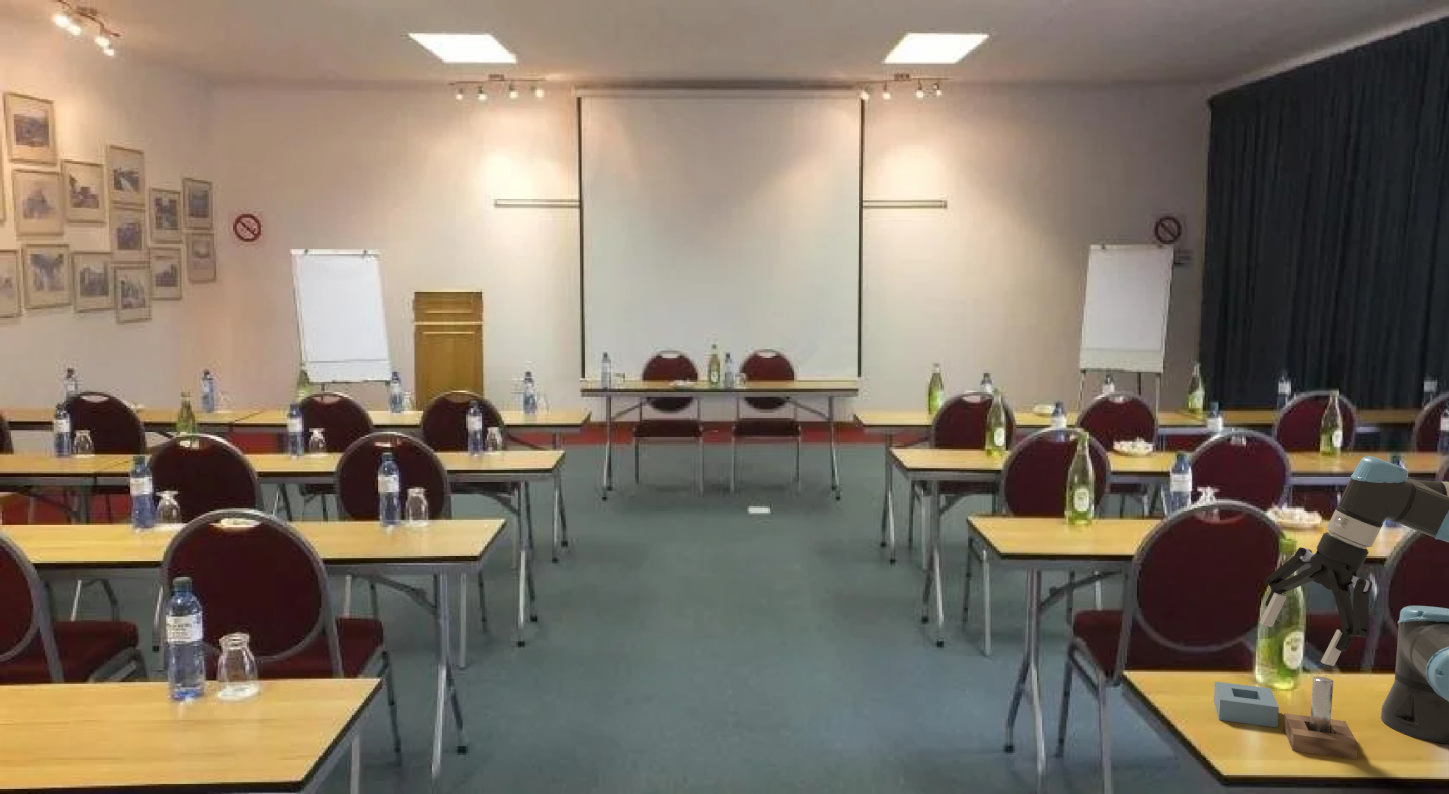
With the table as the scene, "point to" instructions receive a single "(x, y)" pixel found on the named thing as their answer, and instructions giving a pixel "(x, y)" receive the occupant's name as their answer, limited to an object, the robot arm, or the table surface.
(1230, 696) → the docking socket
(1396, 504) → the robot arm
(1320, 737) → the block
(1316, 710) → the pin
